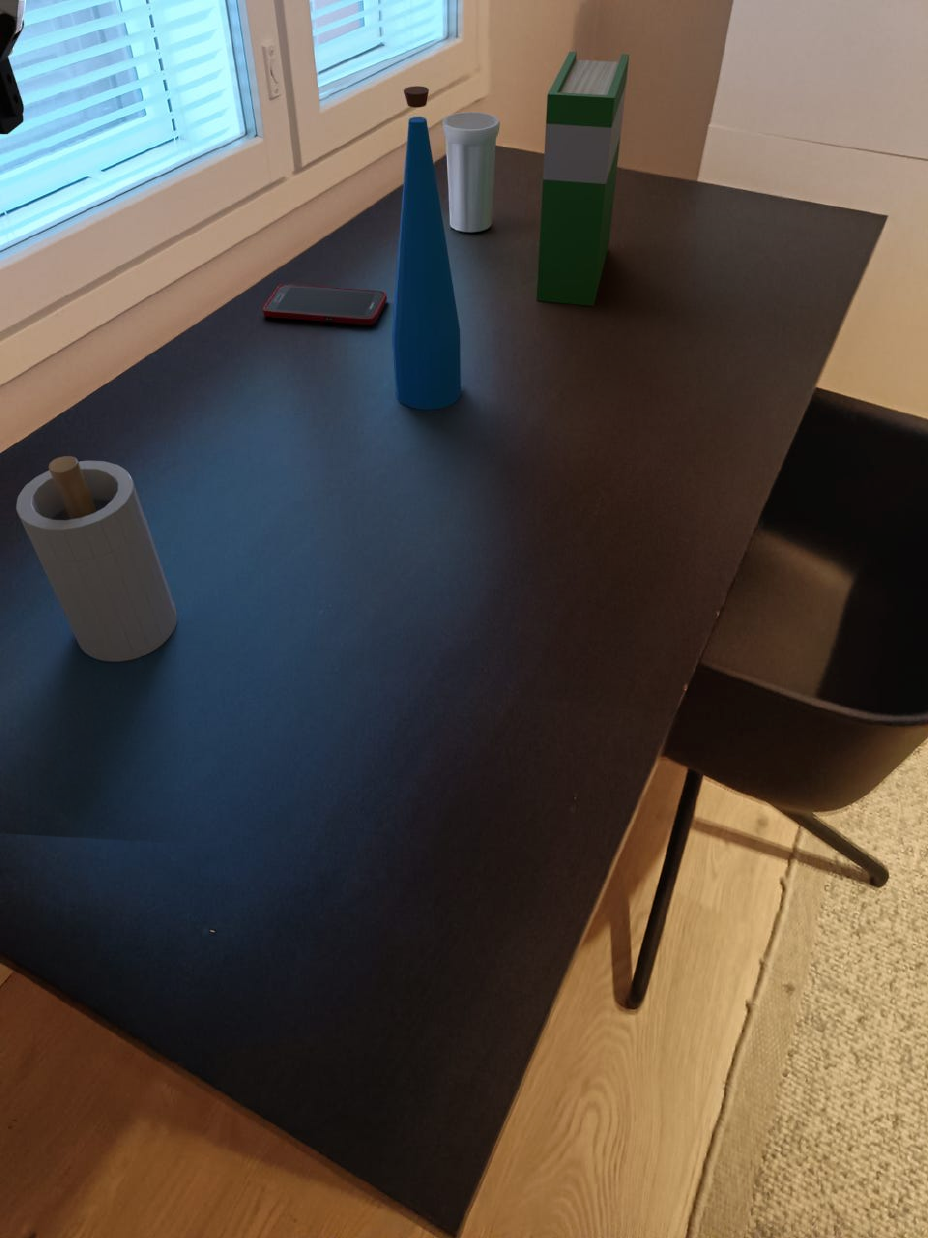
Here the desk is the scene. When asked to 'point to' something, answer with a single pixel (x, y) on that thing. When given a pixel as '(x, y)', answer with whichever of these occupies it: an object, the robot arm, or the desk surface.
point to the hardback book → (579, 177)
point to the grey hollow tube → (101, 564)
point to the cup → (470, 168)
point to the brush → (72, 487)
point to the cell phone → (325, 304)
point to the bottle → (424, 282)
